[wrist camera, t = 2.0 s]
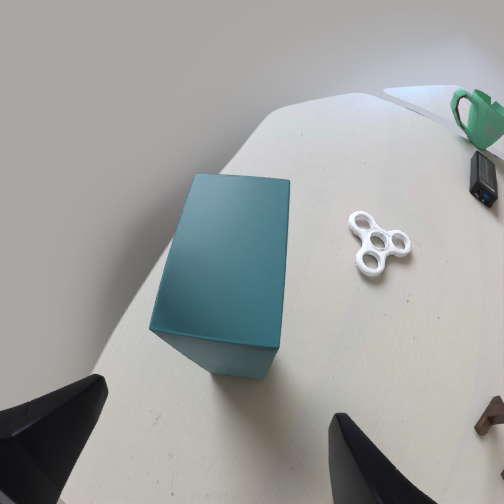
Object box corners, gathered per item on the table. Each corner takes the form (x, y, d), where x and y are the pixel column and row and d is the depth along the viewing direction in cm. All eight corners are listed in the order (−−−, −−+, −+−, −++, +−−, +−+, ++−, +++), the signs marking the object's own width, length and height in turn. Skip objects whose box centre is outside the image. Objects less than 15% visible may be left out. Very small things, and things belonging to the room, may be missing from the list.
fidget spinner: (411, 241, 25) (414, 237, 24) (396, 293, 22) (400, 289, 21) (352, 210, 27) (355, 205, 26) (329, 257, 24) (332, 253, 23)
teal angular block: (263, 379, 19) (279, 348, 8) (209, 372, 19) (148, 329, 8) (271, 297, 22) (290, 179, 11) (223, 291, 22) (194, 172, 11)
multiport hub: (489, 172, 32) (495, 163, 30) (490, 209, 28) (498, 199, 26) (470, 158, 34) (476, 149, 32) (469, 192, 29) (476, 181, 27)
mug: (481, 134, 39) (498, 101, 31) (500, 164, 34) (521, 128, 26) (432, 114, 40) (447, 74, 32) (450, 142, 35) (471, 98, 27)
